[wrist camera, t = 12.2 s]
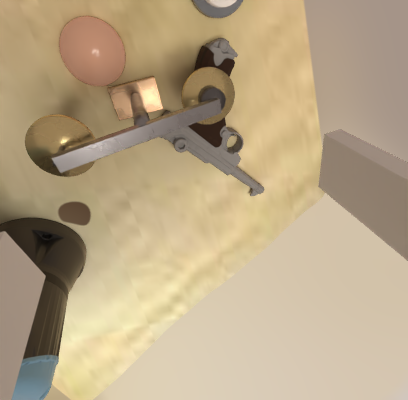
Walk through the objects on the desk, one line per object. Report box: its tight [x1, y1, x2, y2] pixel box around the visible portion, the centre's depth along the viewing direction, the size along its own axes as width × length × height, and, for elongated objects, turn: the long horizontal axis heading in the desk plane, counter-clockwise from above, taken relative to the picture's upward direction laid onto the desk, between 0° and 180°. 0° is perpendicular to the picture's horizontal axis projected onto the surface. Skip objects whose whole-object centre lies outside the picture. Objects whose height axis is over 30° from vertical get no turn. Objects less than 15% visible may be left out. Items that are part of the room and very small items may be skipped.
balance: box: [25, 67, 235, 177], centre depth 29 cm, size 22×6×16 cm, turn 100°
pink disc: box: [59, 16, 125, 86], centre depth 30 cm, size 7×7×1 cm
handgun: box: [159, 38, 264, 196], centre depth 41 cm, size 3×24×15 cm
